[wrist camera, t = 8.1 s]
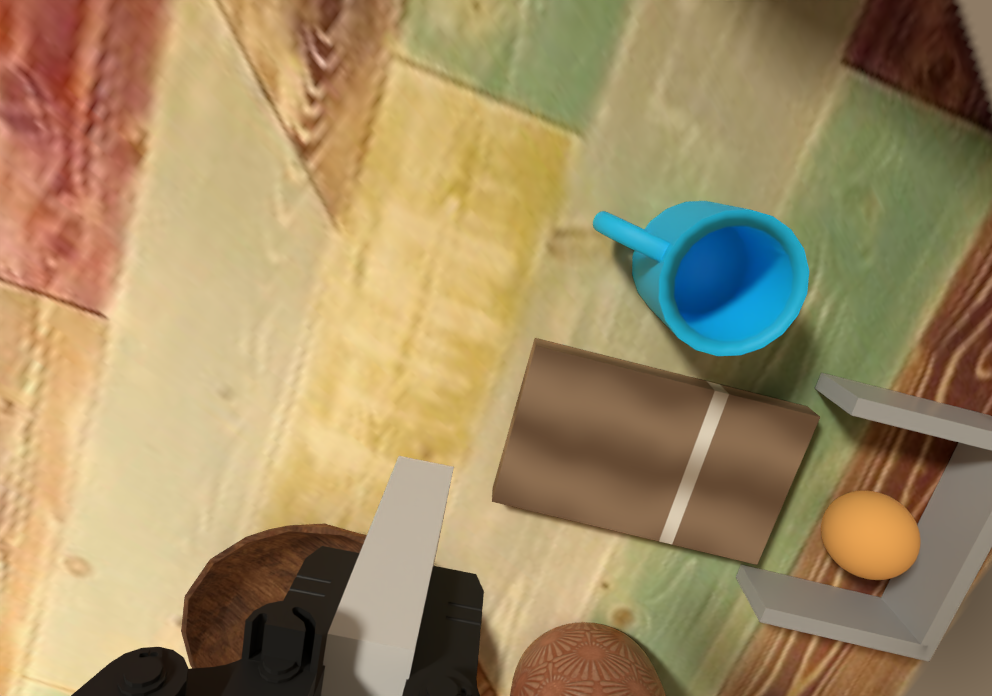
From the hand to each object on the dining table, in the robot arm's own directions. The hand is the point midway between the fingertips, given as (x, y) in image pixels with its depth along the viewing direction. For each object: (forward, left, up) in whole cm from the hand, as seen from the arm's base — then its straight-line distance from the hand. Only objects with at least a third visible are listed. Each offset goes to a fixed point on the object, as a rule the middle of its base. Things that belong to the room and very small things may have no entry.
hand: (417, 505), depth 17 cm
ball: (+9, +31, -25) cm, 40 cm away
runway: (+8, +15, -28) cm, 32 cm away
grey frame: (+8, +31, -28) cm, 42 cm away
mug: (-6, +12, -28) cm, 31 cm away
